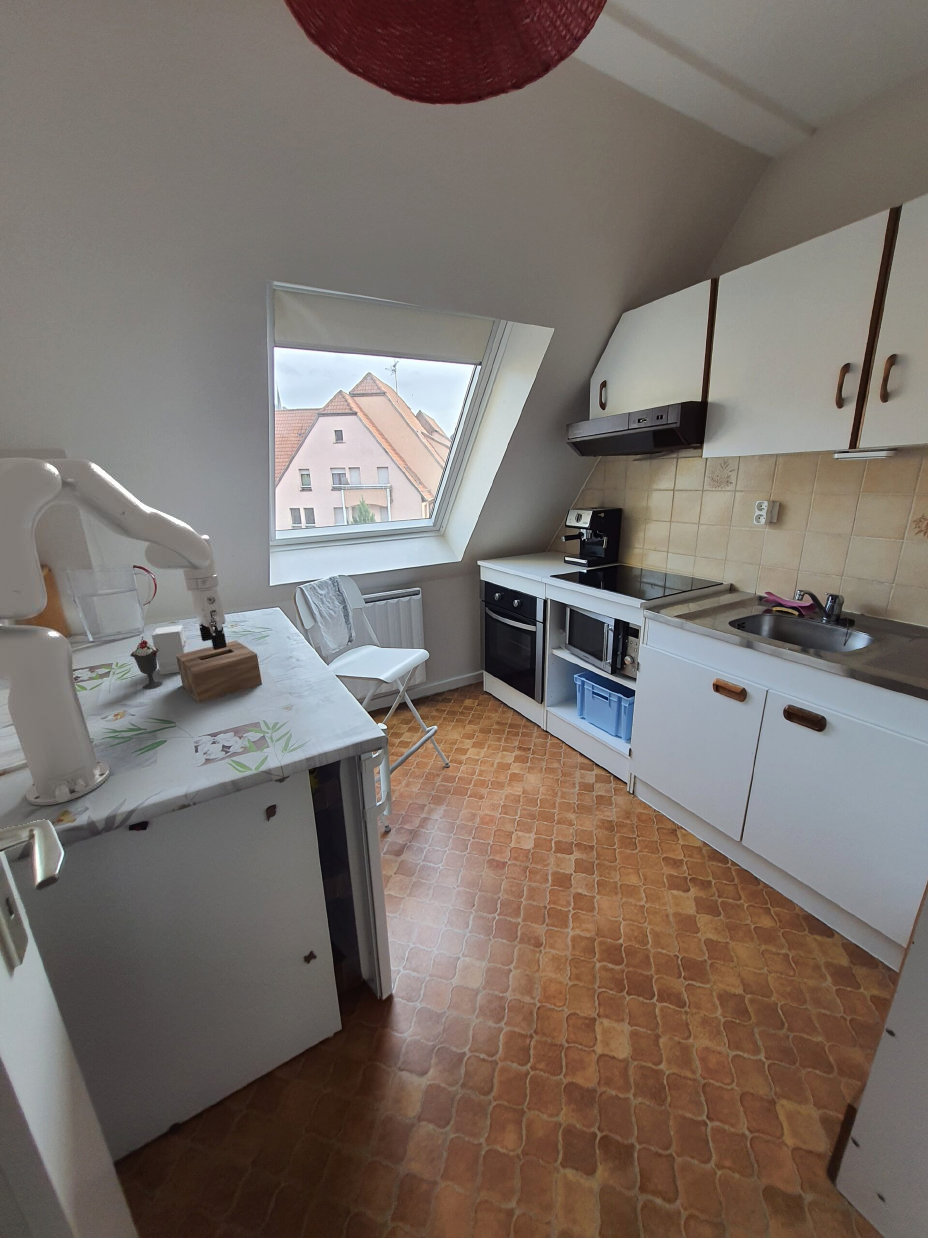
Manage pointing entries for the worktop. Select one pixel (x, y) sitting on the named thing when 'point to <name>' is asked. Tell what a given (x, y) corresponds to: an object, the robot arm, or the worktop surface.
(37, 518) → the robot arm
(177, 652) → the supplement box
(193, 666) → the brown slotted wooden box
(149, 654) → the sundae
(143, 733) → the worktop surface
